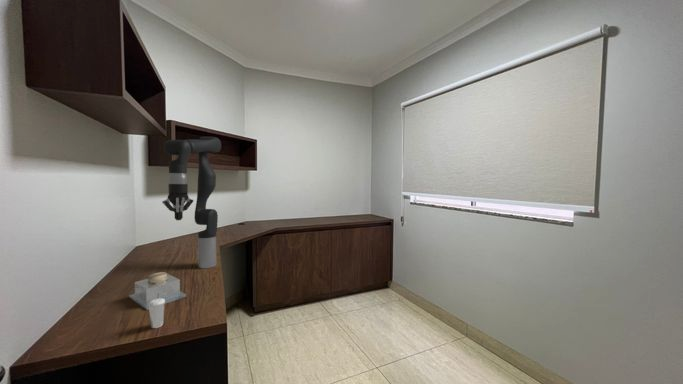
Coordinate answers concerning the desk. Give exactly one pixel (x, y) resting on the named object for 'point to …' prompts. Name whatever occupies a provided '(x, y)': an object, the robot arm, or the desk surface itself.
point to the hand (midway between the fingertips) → (178, 220)
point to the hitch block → (157, 291)
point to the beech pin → (157, 277)
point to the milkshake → (156, 312)
